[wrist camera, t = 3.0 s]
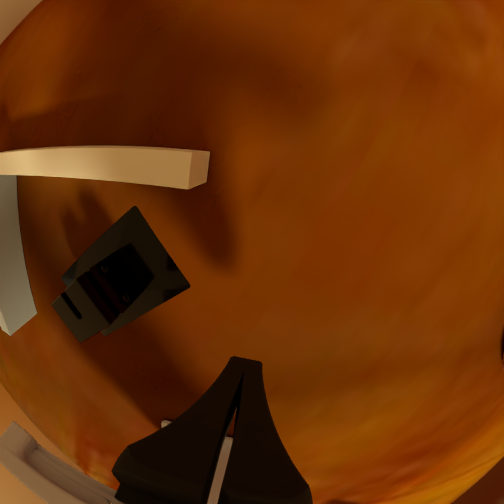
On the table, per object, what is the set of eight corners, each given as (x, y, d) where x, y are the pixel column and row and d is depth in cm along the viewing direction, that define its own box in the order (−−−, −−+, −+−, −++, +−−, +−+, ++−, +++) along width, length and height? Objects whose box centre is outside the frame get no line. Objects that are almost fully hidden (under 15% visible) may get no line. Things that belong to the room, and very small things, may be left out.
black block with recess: (152, 175, 14) (101, 189, 10) (226, 283, 16) (204, 333, 11) (53, 274, 18) (14, 301, 13) (107, 347, 19) (77, 383, 15)
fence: (210, 151, 12) (176, 153, 9) (194, 374, 18) (175, 417, 14) (8, 150, 14) (-30, 158, 10) (28, 308, 19) (2, 329, 15)
